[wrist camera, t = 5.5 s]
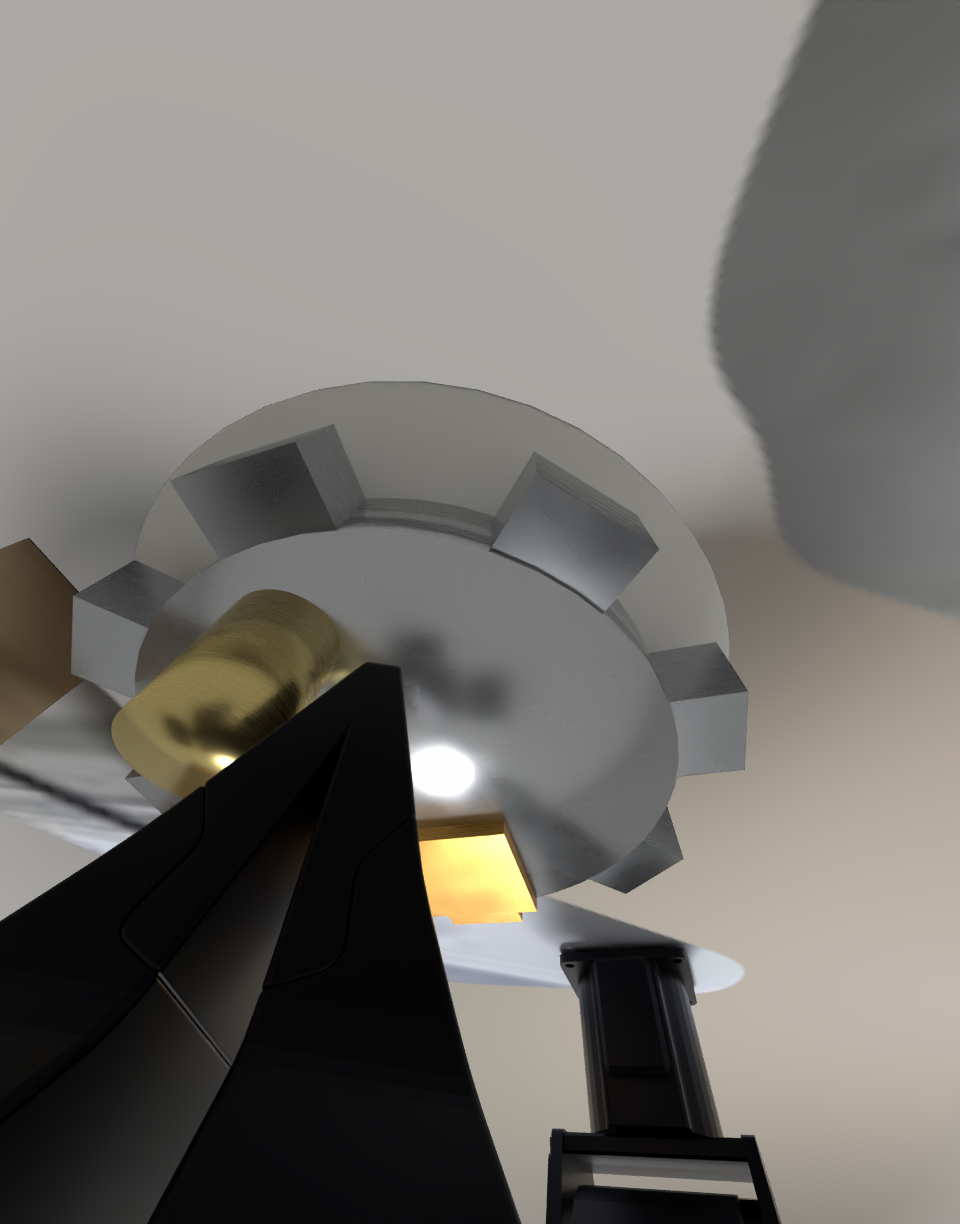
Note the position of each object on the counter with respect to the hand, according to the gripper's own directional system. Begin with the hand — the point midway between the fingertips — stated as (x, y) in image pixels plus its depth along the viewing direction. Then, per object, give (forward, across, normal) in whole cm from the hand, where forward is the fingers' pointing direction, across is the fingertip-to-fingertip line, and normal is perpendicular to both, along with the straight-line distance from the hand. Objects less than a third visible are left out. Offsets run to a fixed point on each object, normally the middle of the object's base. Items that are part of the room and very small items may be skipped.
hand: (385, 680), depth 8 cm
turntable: (+3, 0, +4) cm, 5 cm away
